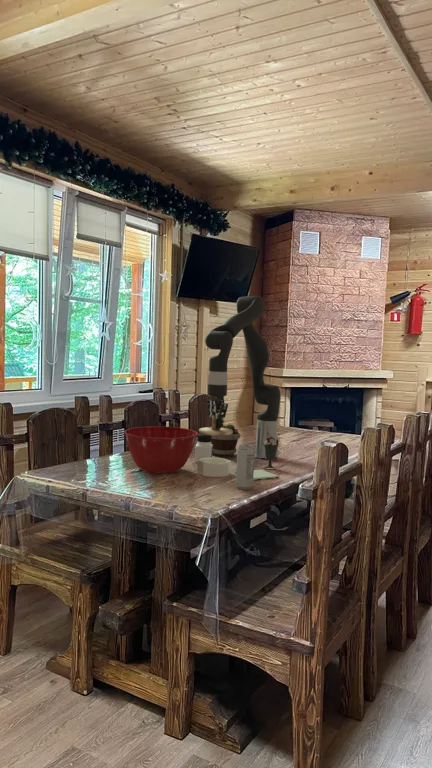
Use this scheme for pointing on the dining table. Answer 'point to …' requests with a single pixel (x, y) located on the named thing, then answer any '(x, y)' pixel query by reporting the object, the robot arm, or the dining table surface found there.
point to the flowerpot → (225, 442)
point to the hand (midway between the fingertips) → (215, 427)
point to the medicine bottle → (203, 447)
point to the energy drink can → (245, 466)
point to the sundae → (270, 450)
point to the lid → (215, 431)
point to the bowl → (214, 467)
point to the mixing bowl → (160, 447)
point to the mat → (262, 475)
